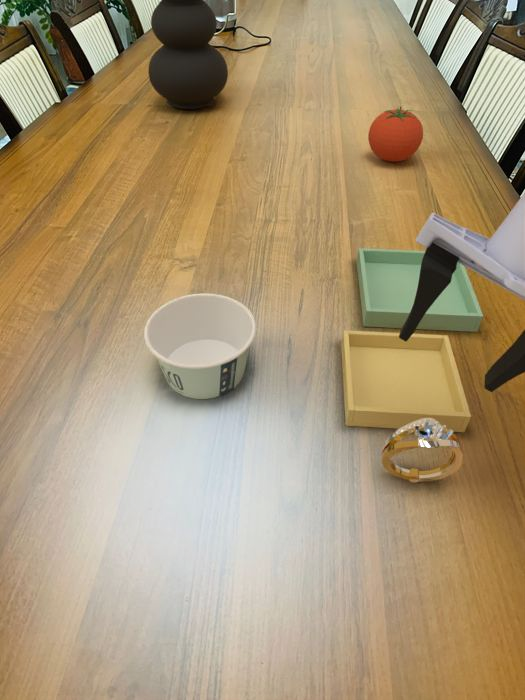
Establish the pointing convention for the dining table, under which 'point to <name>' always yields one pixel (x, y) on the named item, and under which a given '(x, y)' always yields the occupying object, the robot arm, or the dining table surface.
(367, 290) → the green tray
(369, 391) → the yellow tray
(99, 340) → the dining table surface
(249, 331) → the food container
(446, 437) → the ring
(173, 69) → the vase
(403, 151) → the tomato
